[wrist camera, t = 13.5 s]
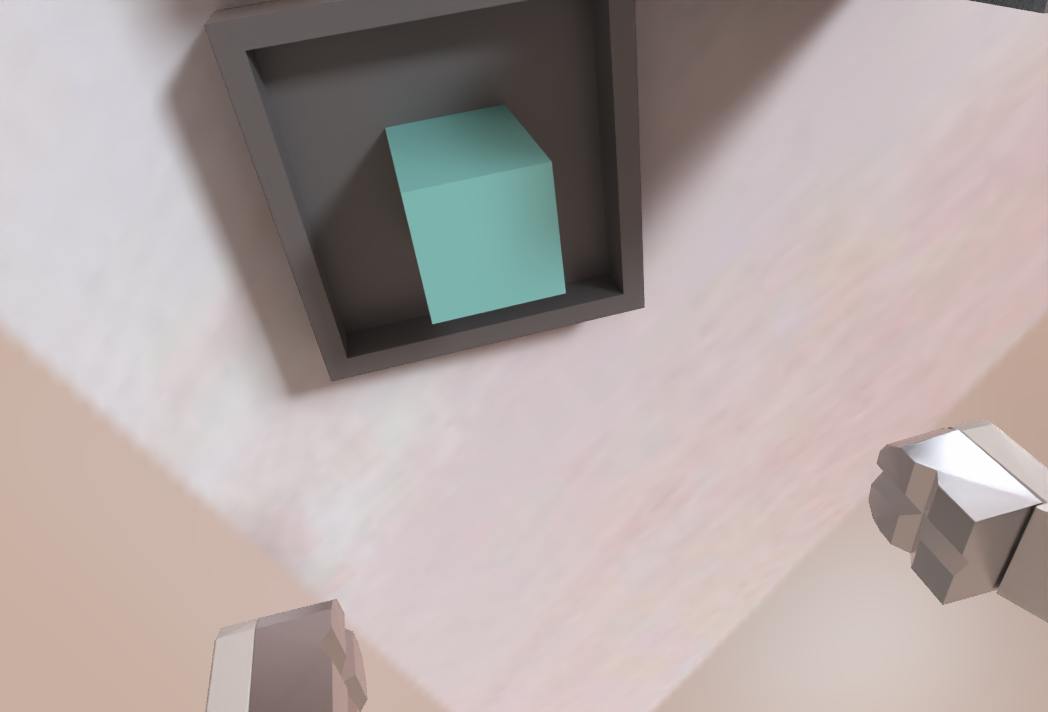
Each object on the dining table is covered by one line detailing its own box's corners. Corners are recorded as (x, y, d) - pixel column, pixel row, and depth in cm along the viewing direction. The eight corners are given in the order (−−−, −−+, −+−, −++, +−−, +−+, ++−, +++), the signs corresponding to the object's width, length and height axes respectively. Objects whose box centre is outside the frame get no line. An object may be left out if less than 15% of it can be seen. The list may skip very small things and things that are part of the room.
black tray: (215, 10, 21) (204, 24, 19) (605, -57, 22) (633, -51, 20) (331, 345, 28) (331, 381, 26) (622, 277, 29) (644, 307, 27)
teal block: (384, 128, 23) (400, 193, 18) (504, 104, 23) (551, 161, 18) (411, 239, 25) (432, 324, 20) (520, 215, 26) (565, 293, 21)
